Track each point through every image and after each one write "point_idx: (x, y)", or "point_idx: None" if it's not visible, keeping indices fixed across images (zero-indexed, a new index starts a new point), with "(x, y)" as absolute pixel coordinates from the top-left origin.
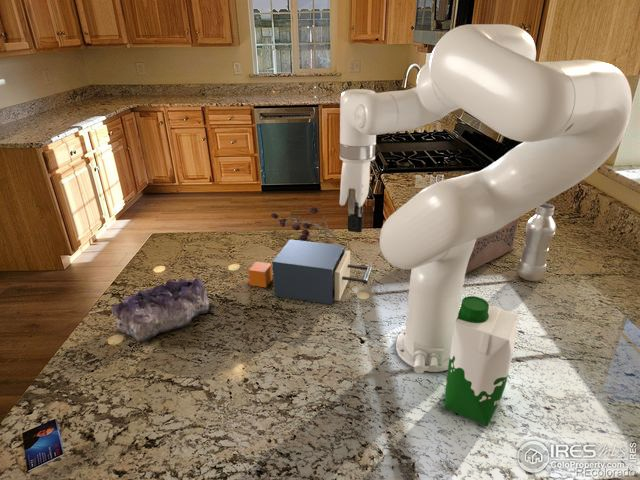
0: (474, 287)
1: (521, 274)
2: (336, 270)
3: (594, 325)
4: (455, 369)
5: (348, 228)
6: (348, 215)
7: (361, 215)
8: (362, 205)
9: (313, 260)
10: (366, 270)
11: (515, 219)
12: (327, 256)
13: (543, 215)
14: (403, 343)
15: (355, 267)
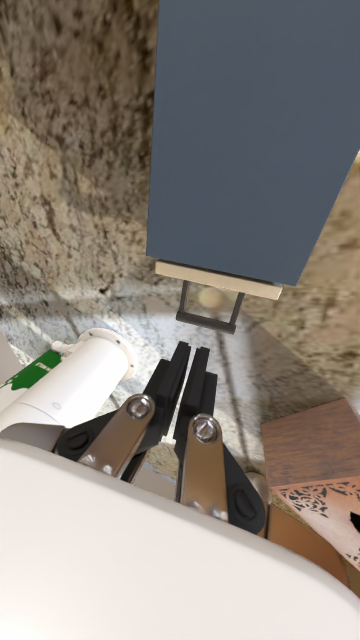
0: (234, 429)
1: (249, 476)
2: (162, 264)
3: (174, 469)
4: (5, 382)
5: (177, 348)
6: (130, 397)
7: (173, 437)
8: (174, 501)
9: (188, 188)
10: (218, 322)
11: (357, 568)
12: (219, 235)
13: None
14: (101, 337)
15: (236, 300)
